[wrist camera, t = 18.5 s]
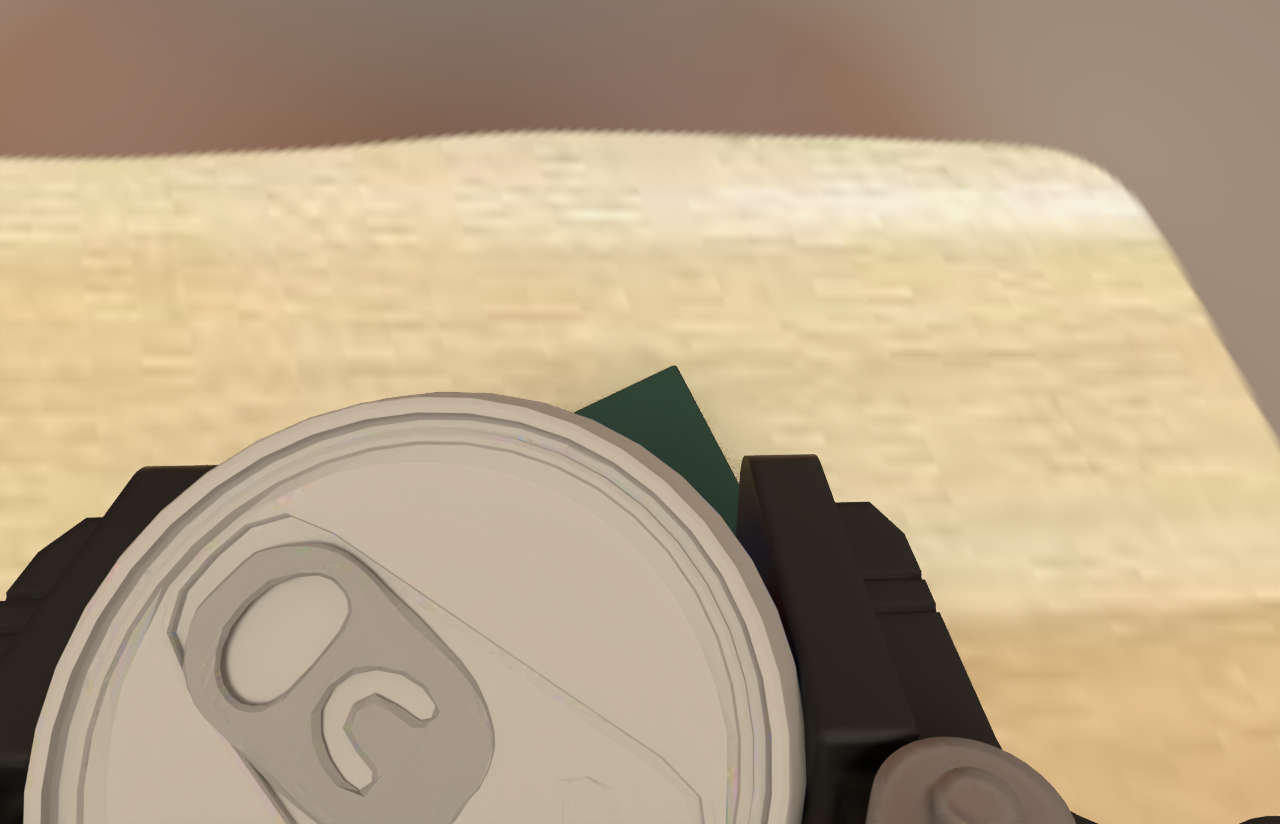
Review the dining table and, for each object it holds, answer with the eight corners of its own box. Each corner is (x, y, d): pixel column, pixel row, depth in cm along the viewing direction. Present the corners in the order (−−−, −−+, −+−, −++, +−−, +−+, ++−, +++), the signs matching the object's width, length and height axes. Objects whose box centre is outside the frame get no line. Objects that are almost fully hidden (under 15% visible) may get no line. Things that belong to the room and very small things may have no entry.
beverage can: (722, 666, 20) (1007, 724, 6) (561, 860, 19) (413, 1522, 5) (548, 508, 21) (413, 207, 6) (384, 687, 20) (-220, 805, 5)
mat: (674, 370, 23) (675, 363, 22) (881, 763, 21) (889, 766, 20) (240, 576, 21) (230, 575, 20) (417, 1021, 19) (411, 1032, 18)
